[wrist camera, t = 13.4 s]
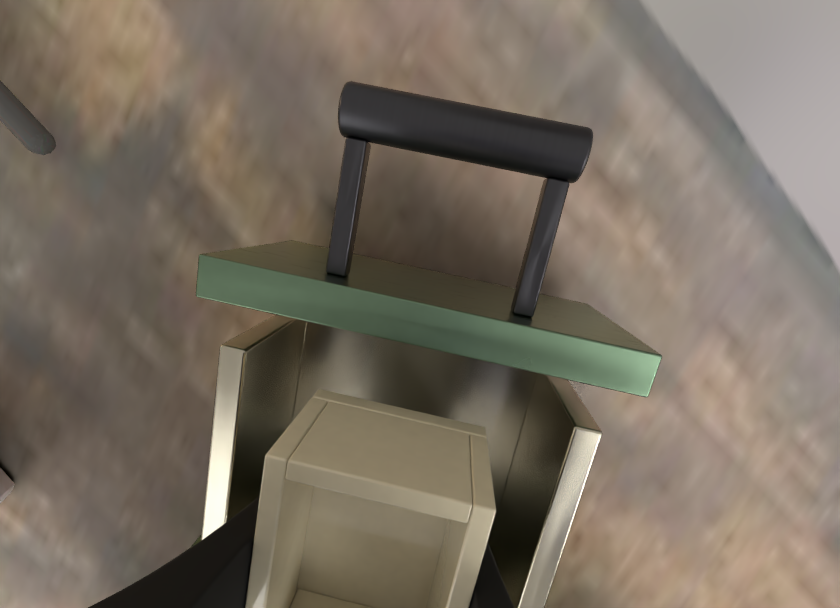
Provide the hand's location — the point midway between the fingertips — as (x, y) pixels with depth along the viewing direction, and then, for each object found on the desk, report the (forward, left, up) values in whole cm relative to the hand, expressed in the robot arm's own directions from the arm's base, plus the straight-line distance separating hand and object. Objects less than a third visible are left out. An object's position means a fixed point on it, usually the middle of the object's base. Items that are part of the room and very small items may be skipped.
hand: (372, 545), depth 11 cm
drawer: (0, -2, -7) cm, 7 cm away
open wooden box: (0, 0, -1) cm, 1 cm away
